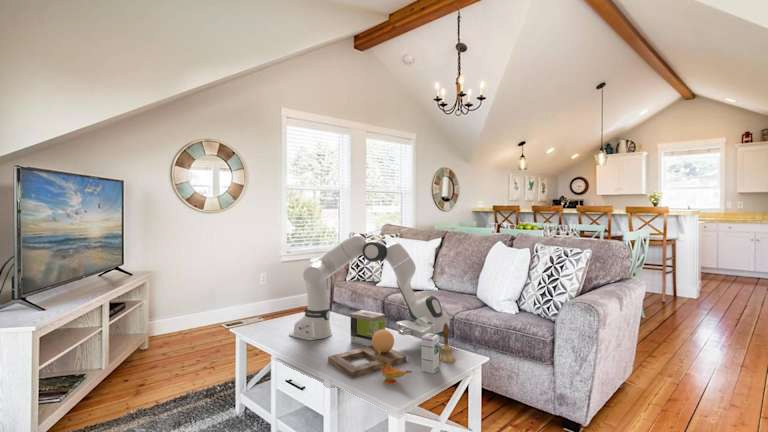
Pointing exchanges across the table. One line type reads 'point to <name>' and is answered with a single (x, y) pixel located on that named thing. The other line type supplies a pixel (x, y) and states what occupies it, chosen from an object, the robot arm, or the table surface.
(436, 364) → the syrup box
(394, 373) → the magic lamp
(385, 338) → the ball
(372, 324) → the tea box
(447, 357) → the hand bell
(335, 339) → the table surface
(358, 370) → the wooden board with hole
